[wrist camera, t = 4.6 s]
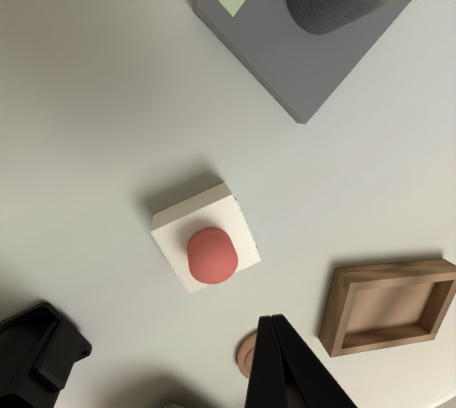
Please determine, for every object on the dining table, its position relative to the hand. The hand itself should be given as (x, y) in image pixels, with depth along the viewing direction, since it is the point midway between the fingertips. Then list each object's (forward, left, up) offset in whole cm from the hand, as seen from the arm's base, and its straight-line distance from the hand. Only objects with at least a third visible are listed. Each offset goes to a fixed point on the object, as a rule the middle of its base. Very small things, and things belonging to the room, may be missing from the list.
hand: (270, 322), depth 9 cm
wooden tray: (+12, -19, -12) cm, 26 cm away
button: (-2, -1, -9) cm, 9 cm away
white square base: (-2, -2, -12) cm, 12 cm away
